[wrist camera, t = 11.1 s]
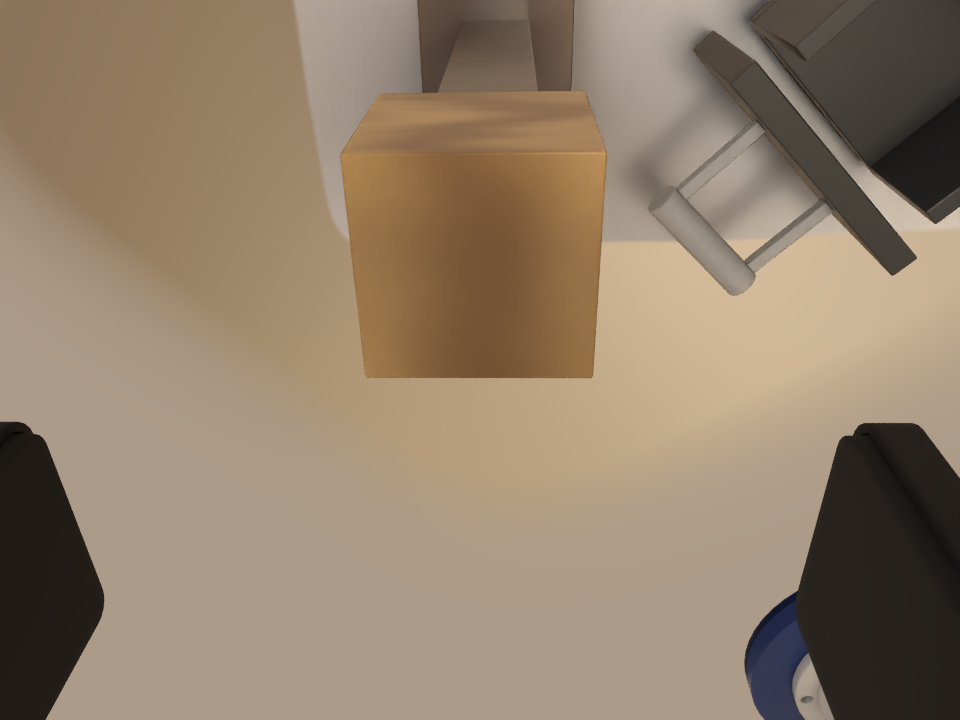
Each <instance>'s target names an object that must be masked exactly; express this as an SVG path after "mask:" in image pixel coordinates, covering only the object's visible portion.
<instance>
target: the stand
mask: <svg viewBox="0 0 960 720" xmlns="http://www.w3.org/2000/svg"><path fill="white" fill-rule="evenodd" d="M418 18H419V36H420V53H421V71H422V89H423V93H461V92H539V91H571V76H572V50H573V24H574V0H418Z"/></svg>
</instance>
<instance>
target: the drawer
mask: <svg viewBox="0 0 960 720" xmlns="http://www.w3.org/2000/svg"><path fill="white" fill-rule="evenodd" d="M749 22H750V23H751V24H752V26H753V27H754V28H755V29H756V30H757V32H758V33H759V34H760V35H761V37H762V38H763V39H764V40H765V42H766V43H767V44H768V45H769V47H770V48H771V49H772V50H773V52H774V53H775V54H776V55H777V57H778V58H779V59H780V60H781V61H782V63H783V64H784V65H785V66H786V68H787V69H788V70H789V71H790V73H791V74H792V75H793V76H794V78H795V79H796V80H797V81H798V83H799V84H800V85H801V86H802V88H803V89H804V90H805V91H806V92H807V94H808V95H809V96H810V97H811V99H812V100H813V101H814V102H815V104H816V105H817V106H818V107H819V109H820V110H821V111H822V112H823V114H824V115H825V116H826V117H827V119H828V120H829V121H830V122H831V123H832V125H833V126H834V127H835V128H836V130H837V131H838V132H839V133H840V135H841V136H842V137H843V138H844V140H845V141H846V142H847V143H848V145H849V146H850V147H851V148H852V150H853V151H854V152H855V153H856V154H857V156H858V157H859V158H860V159H861V161H862V162H863V163H864V164H865V166H866V167H867V168H868V169H869V171H870V172H871V173H872V174H873V175H875V176H876V177H877V178H878V179H879V180H881V181H882V182H883V183H884V184H886V185H887V186H888V187H889V188H891V189H892V190H893V191H894V192H896V193H897V194H898V195H899V196H901V197H902V198H903V199H904V200H906V201H907V202H908V203H909V204H911V205H912V206H913V207H914V208H916V209H917V210H918V211H919V212H921V213H922V214H923V215H924V216H925V217H927V218H928V219H929V220H930V221H932V222H933V223H934V224H937V223H938V222H940V221H941V220H942V219H944V218H945V217H946V216H948V215H949V214H951V213H952V212H953V211H955V210H956V209H957V208H959V207H960V0H770V1H769V2H768V3H766V4H765V5H764V6H763V7H762V8H761V9H760V10H759V11H758V12H757V13H756V14H755V15H754V16H753V17H752V18H750V20H749ZM693 52H694V53H695V54H696V55H697V56H698V57H699V59H700V60H701V61H702V62H703V63H704V64H705V66H706V67H707V68H708V69H709V70H710V71H711V73H712V74H713V75H714V76H715V77H716V79H717V80H718V81H719V82H720V83H721V84H722V86H723V87H724V88H725V89H726V90H727V91H728V93H729V94H730V95H731V96H732V97H733V98H734V100H735V101H736V102H737V103H738V104H739V105H740V107H741V108H742V109H743V110H744V111H745V113H746V114H747V115H748V116H749V117H750V118H751V120H752V122H751V123H750V124H748V125H747V126H746V127H745V128H744V129H743V130H742V131H740V132H739V133H738V134H737V135H736V136H735V137H734V138H732V139H731V140H730V141H729V142H728V143H727V144H726V145H724V146H723V147H722V148H721V149H720V150H719V151H718V152H716V153H715V154H714V155H713V156H712V157H711V158H710V159H708V160H707V161H706V162H705V163H704V164H703V165H702V166H700V167H699V168H698V169H697V170H696V171H695V172H693V173H692V174H691V175H690V176H689V177H688V178H687V179H685V180H684V181H683V182H682V183H681V184H680V185H679V186H677V189H676V188H675V187H673V186H669V187H666V188H665V189H663V190H662V191H660V192H659V193H658V194H657V195H656V196H655V197H654V198H653V199H652V201H651V202H650V204H649V206H648V210H649V212H650V213H651V214H652V215H653V216H654V217H655V218H656V219H657V220H658V221H659V222H660V223H661V224H662V225H663V226H664V227H665V228H666V229H667V230H668V231H669V232H670V233H671V234H672V235H673V237H674V238H675V239H676V240H677V241H678V242H679V243H680V244H681V245H682V246H683V247H684V248H685V249H686V250H687V251H688V252H689V253H690V254H691V255H692V256H693V257H694V258H695V259H696V260H697V261H698V262H699V263H700V264H701V265H702V266H703V267H704V269H705V270H706V271H707V272H708V273H709V274H710V275H711V276H712V277H713V278H714V279H715V280H716V281H717V282H718V283H719V284H720V285H721V286H722V287H723V288H724V289H725V290H726V291H727V292H728V293H729V294H730V295H733V296H735V295H739V294H741V293H743V292H744V291H746V290H747V289H748V288H749V287H750V286H751V285H752V284H753V282H754V280H755V277H756V275H755V272H756V271H758V270H759V269H760V268H762V267H763V266H764V265H765V264H766V263H768V262H769V261H770V260H772V259H773V258H774V257H776V256H777V255H778V254H779V253H781V252H782V251H783V250H785V249H786V248H787V247H788V246H790V245H791V244H792V243H794V242H795V241H796V240H797V239H799V238H800V237H801V236H803V235H804V234H805V233H806V232H808V231H809V230H810V229H811V228H813V227H814V226H815V225H817V224H818V223H819V222H820V221H822V220H823V219H824V218H826V217H827V216H828V215H829V214H831V213H832V215H833V216H834V217H835V218H836V219H837V220H838V221H839V222H840V223H841V224H842V225H843V226H844V227H845V228H846V229H847V230H848V231H849V232H850V233H851V234H852V235H853V236H854V237H855V238H856V239H857V240H858V241H859V242H860V243H861V244H862V245H863V247H864V248H865V249H866V250H868V252H869V253H870V254H871V255H872V256H873V257H874V258H875V259H876V260H877V261H878V262H879V263H880V264H881V265H882V266H883V267H884V268H885V269H886V270H887V271H888V272H889V273H890V274H891V275H895V274H896V273H898V272H899V271H900V270H902V269H903V268H905V267H906V266H907V265H909V264H910V263H911V262H913V261H914V260H916V259H917V257H916V255H915V254H914V253H913V252H912V251H911V249H910V248H909V247H908V246H907V245H906V243H905V242H904V241H903V240H902V238H901V237H900V236H899V235H898V233H897V232H896V231H895V230H894V229H893V227H892V226H891V225H890V224H889V223H888V221H887V220H886V219H885V218H884V216H883V215H882V214H881V213H880V212H879V210H878V209H877V208H876V207H875V205H874V204H873V203H872V202H871V201H870V199H869V198H868V197H867V196H866V195H865V193H864V192H863V191H862V190H861V188H860V187H859V186H858V185H857V184H856V182H855V181H854V180H853V179H852V177H851V176H850V175H849V174H848V173H847V171H846V170H845V169H844V168H843V167H842V165H841V164H840V163H839V162H838V160H837V159H836V158H835V157H834V156H833V154H832V153H831V152H830V151H829V149H828V148H827V147H826V146H825V145H824V143H823V142H822V141H821V140H820V138H819V137H818V136H817V135H816V134H815V132H814V131H813V130H812V129H811V128H810V126H809V125H808V124H807V123H806V121H805V120H804V119H803V118H802V117H801V115H800V114H799V113H798V112H797V110H796V109H795V108H794V107H793V106H792V104H791V103H790V102H789V101H788V100H787V98H786V97H785V96H784V95H783V93H782V92H781V91H780V90H779V89H778V87H777V86H776V85H775V84H774V82H773V81H772V80H771V79H770V78H769V76H768V75H767V74H766V73H765V72H764V70H763V69H762V68H761V67H760V65H759V64H758V63H757V62H756V61H755V60H753V59H752V58H751V57H749V56H748V55H746V54H745V53H744V52H742V51H741V50H740V49H738V48H737V47H735V46H734V45H733V44H731V43H730V42H729V41H727V40H726V39H724V38H723V37H722V36H720V35H719V34H718V33H716V32H715V31H712V32H711V33H710V34H709V35H708V36H707V37H706V38H705V39H704V40H703V41H702V42H701V43H699V44H698V45H697V46H696V47H695V48H694V49H693ZM763 134H764V135H765V136H766V137H767V138H768V139H769V141H770V142H771V143H772V144H773V145H774V147H775V148H776V149H777V150H778V151H779V152H780V154H781V155H782V156H783V157H784V158H785V159H786V161H787V162H788V163H789V164H790V165H791V166H792V168H793V169H794V170H795V171H796V172H797V173H798V175H799V176H800V177H801V178H802V179H803V181H804V182H805V183H806V184H807V185H808V186H809V188H810V189H811V190H812V191H813V192H814V193H815V195H816V196H817V197H818V198H819V199H820V201H818V202H817V203H816V204H815V205H813V206H812V207H811V208H810V209H808V210H807V211H806V212H804V213H803V214H802V215H801V216H799V217H798V218H797V219H796V220H794V221H793V222H792V223H791V224H789V225H788V226H787V227H786V228H784V229H783V230H782V231H781V232H779V233H778V234H777V235H776V236H774V237H773V238H772V239H770V240H769V241H768V242H767V243H765V244H764V245H763V246H762V247H760V248H759V249H758V250H757V251H755V252H754V253H753V254H752V255H750V256H749V257H748V258H747V259H745V262H746V263H745V262H744V261H743V260H742V259H741V257H740V256H739V255H738V254H737V253H736V252H735V251H734V250H733V249H732V248H731V247H730V246H729V245H728V244H727V242H726V241H725V240H724V239H723V238H722V237H721V236H720V235H719V234H718V233H717V232H716V231H715V230H714V229H713V228H712V226H711V225H710V224H709V223H708V222H707V221H706V220H705V219H704V218H703V217H702V216H701V215H700V214H699V213H698V212H697V210H696V209H695V208H694V207H693V206H692V205H691V204H690V203H689V202H688V201H687V199H689V198H690V197H691V196H692V195H693V194H694V193H696V192H697V191H698V190H699V189H700V188H701V187H703V186H704V185H705V184H706V183H707V182H708V181H709V180H711V179H712V178H713V177H714V176H715V175H716V174H718V173H719V172H720V171H721V170H722V169H723V168H725V167H726V166H727V165H728V164H729V163H730V162H732V161H733V160H734V159H735V158H736V157H737V156H739V155H740V154H741V153H742V152H743V151H744V150H746V149H747V148H748V147H749V146H750V145H751V144H752V143H754V142H755V141H756V140H757V139H758V138H759V137H761V136H762V135H763Z"/></svg>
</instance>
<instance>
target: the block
mask: <svg viewBox="0 0 960 720" xmlns="http://www.w3.org/2000/svg"><path fill="white" fill-rule="evenodd" d="M340 158H341V167H342V175H343V184H344V193H345V202H346V211H347V220H348V229H349V237H350V246H351V255H352V264H353V273H354V282H355V291H356V300H357V308H358V317H359V326H360V335H361V344H362V353H363V362H364V370H365V376H366V377H368V378H369V377H370V378H371V377H372V378H592V376H593V367H594V351H595V336H596V319H597V304H598V288H599V273H600V256H601V242H602V226H603V210H604V195H605V179H606V164H607V151H606V148H605V146H604V143H603V140H602V137H601V134H600V131H599V129H598V126H597V123H596V120H595V117H594V114H593V112H592V109H591V106H590V103H589V100H588V97H587V95H586V92H585V91H539V92H461V93H382V94H378V96H377V98H376V99H375V101H374V102H373V104H372V105H371V107H370V109H369V110H368V112H367V113H366V115H365V116H364V118H363V120H362V121H361V123H360V124H359V126H358V127H357V129H356V131H355V132H354V134H353V135H352V137H351V138H350V140H349V142H348V143H347V145H346V146H345V148H344V149H343V151H342V153H341V155H340Z"/></svg>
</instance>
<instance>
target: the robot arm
mask: <svg viewBox="0 0 960 720" xmlns="http://www.w3.org/2000/svg"><path fill="white" fill-rule="evenodd" d="M103 608H104V593H103V589H102V586H101V583H100V581H99V578H98V576H97V573H96V571H95V568H94V565H93V563H92V560H91V558H90V556H89V553H88V550H87V547H86V545H85V542H84V540H83V537H82V535H81V532H80V529H79V527H78V524H77V522H76V519H75V516H74V514H73V511H72V509H71V506H70V503H69V501H68V498H67V496H66V493H65V490H64V488H63V485H62V483H61V480H60V477H59V475H58V472H57V470H56V467H55V465H54V462H53V459H52V457H51V454H50V451H49V449H48V446H47V444H46V442H45V440H44V439H43V438H42V437H41V436H40V435H36V434H33V432H32V431H31V429H30V428H29V427H28V426H27V425H26V424H24V423H20V422H0V720H46V718H47V716H48V714H49V712H50V711H51V709H52V707H53V705H54V703H55V701H56V700H57V698H58V696H59V694H60V692H61V691H62V689H63V687H64V685H65V683H66V681H67V680H68V678H69V676H70V674H71V672H72V671H73V668H74V667H75V665H76V663H77V661H78V659H79V658H80V656H81V654H82V652H83V650H84V649H85V647H86V645H87V643H88V641H89V640H90V638H91V636H92V634H93V632H94V630H95V629H96V627H97V625H98V623H99V621H100V619H101V616H102V612H103ZM796 618H797V623H798V627H799V630H800V633H801V635H802V638H803V640H804V643H805V646H806V648H807V651H808V653H807V654H806V655H805V656H804V658H803V659H802V661H801V662H800V663H799V665H798V666H797V668H796V671H795V673H794V676H793V681H792V691H793V696H794V699H795V702H796V704H797V707H798V710H799V712H800V713H801V715H802V716H803V717H804V719H805V720H960V478H959V477H958V475H957V474H956V473H955V471H954V470H953V469H952V468H951V466H950V465H949V463H948V462H947V461H946V460H945V458H944V457H943V455H942V454H941V453H940V451H939V450H938V449H937V448H936V446H935V445H934V443H933V442H932V441H931V440H930V438H929V437H928V436H927V434H926V433H925V431H924V430H923V429H922V428H921V427H920V426H919V425H916V424H913V423H864V424H861V425H859V426H858V427H857V429H856V430H855V432H854V434H853V436H844V437H842V439H841V440H840V441H839V443H838V446H837V449H836V453H835V457H834V460H833V464H832V468H831V472H830V475H829V479H828V483H827V486H826V490H825V494H824V497H823V501H822V504H821V509H820V512H819V515H818V519H817V523H816V527H815V530H814V534H813V537H812V541H811V545H810V549H809V552H808V556H807V559H806V563H805V567H804V570H803V574H802V578H801V581H800V585H799V589H798V592H797V597H796Z"/></svg>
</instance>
